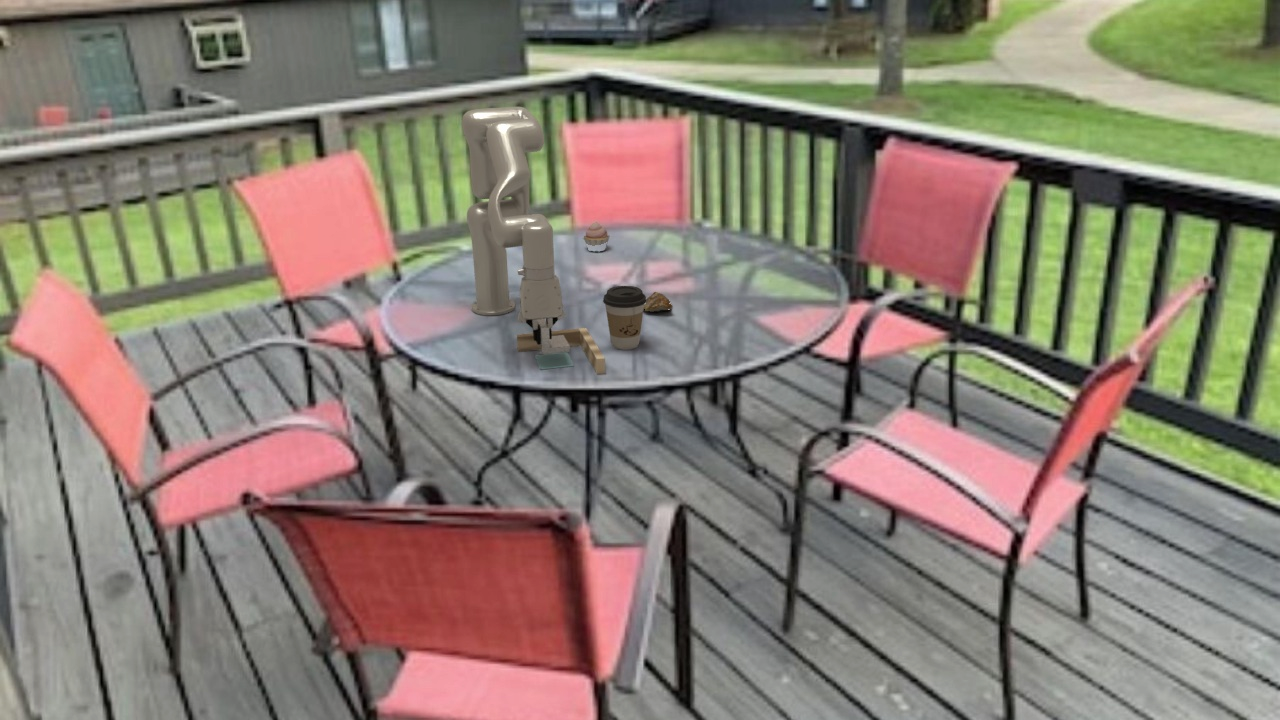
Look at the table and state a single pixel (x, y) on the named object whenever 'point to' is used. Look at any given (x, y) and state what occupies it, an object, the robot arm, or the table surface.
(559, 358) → the teal square plate
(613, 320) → the coffee cup
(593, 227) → the cupcake
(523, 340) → the wooden l-shaped piece
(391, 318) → the table surface
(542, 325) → the bracket
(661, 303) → the pie slice
